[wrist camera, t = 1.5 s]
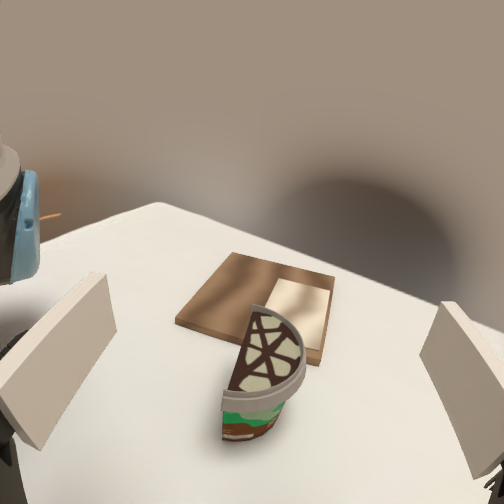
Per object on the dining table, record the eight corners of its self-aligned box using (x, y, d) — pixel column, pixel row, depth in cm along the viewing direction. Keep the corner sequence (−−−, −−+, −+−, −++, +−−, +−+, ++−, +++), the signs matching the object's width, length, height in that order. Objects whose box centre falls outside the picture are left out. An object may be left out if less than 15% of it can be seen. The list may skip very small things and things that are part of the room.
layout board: (175, 323, 41) (175, 316, 40) (231, 257, 60) (232, 251, 59) (318, 366, 36) (321, 359, 35) (333, 282, 55) (335, 276, 54)
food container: (281, 464, 24) (307, 411, 19) (218, 451, 24) (221, 395, 20) (294, 375, 34) (313, 311, 30) (244, 366, 35) (253, 300, 31)
